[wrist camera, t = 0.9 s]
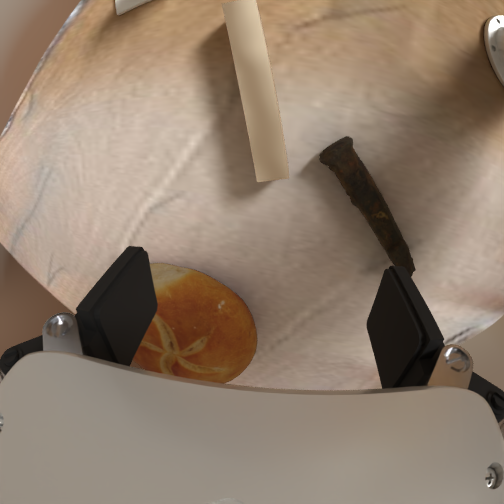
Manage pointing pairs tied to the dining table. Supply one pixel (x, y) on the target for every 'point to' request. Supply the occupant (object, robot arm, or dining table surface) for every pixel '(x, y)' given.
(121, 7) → the mat
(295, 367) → the dining table surface
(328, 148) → the rusty brown spike
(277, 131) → the beige long bar
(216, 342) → the bread
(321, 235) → the dining table surface
